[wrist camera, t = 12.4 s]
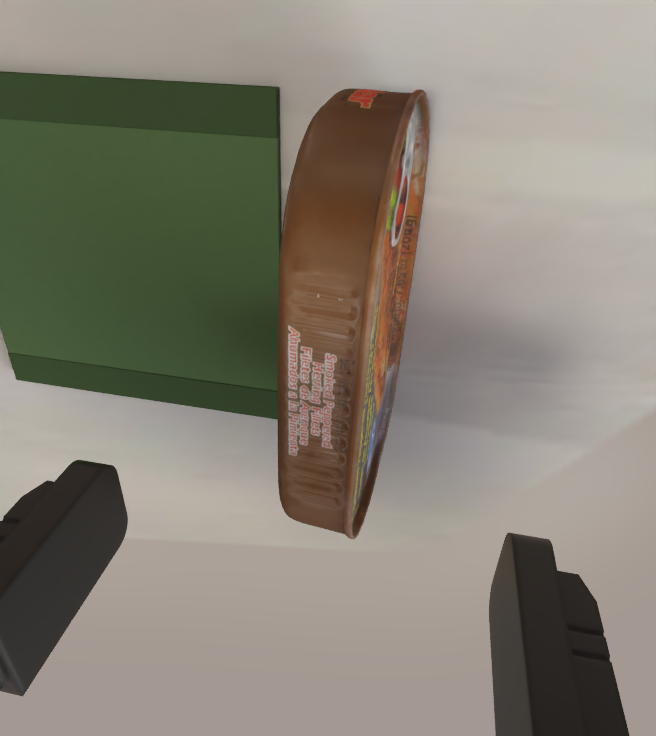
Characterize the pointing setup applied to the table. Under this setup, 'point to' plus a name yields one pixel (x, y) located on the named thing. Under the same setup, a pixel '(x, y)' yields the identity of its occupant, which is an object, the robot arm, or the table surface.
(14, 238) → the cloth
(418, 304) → the table surface
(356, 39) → the table surface
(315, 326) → the tin
